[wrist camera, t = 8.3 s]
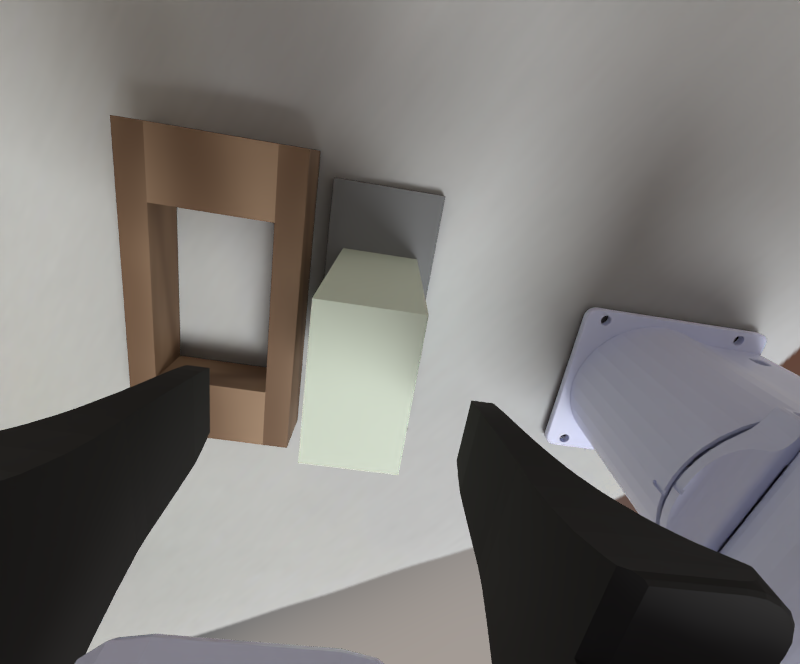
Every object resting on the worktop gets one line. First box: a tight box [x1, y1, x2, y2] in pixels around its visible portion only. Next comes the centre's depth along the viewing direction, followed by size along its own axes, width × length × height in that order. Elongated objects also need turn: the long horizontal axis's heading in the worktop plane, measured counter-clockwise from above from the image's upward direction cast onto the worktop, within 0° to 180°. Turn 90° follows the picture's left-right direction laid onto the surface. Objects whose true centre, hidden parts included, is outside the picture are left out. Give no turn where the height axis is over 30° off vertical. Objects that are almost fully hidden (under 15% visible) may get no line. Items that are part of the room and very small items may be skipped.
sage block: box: [298, 248, 429, 475], centre depth 18 cm, size 4×6×8 cm, turn 171°
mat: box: [324, 178, 445, 300], centre depth 22 cm, size 5×12×1 cm, turn 171°
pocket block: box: [110, 115, 320, 448], centre depth 20 cm, size 8×14×2 cm, turn 171°
